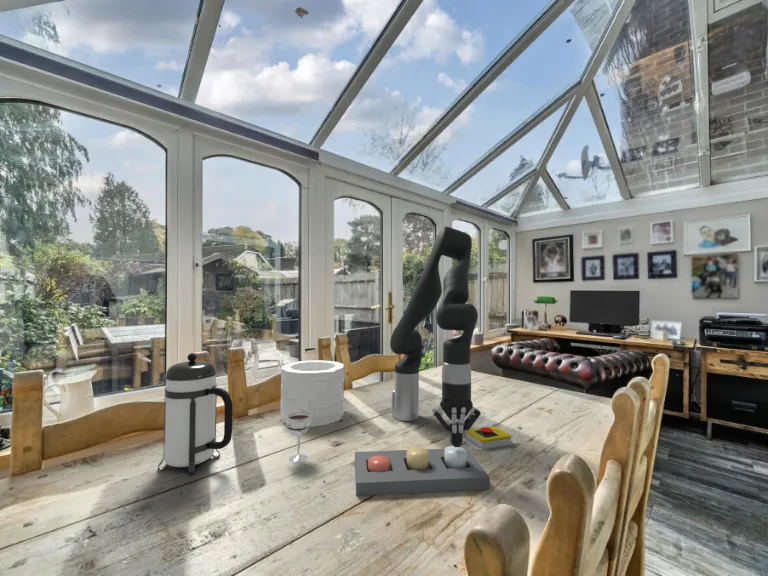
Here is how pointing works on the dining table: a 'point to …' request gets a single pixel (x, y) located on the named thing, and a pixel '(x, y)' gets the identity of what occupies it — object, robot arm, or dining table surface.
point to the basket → (313, 390)
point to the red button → (378, 464)
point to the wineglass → (298, 430)
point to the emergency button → (488, 438)
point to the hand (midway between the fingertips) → (456, 445)
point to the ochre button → (417, 458)
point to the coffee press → (193, 414)
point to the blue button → (455, 457)
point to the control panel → (417, 475)
